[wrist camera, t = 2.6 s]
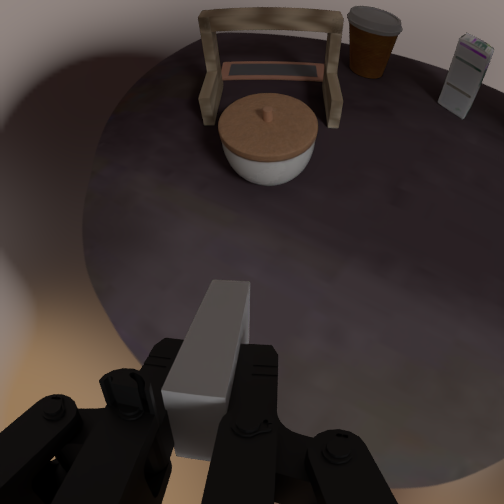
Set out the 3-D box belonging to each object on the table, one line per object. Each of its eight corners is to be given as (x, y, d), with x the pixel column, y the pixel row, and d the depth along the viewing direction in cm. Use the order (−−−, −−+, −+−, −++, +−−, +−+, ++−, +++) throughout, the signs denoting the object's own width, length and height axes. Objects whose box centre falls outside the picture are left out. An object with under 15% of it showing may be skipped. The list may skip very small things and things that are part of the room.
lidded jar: (321, 196, 37) (332, 139, 29) (229, 207, 37) (218, 150, 29) (301, 134, 42) (305, 78, 34) (223, 143, 42) (213, 87, 34)
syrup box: (463, 120, 44) (492, 56, 31) (435, 102, 46) (459, 36, 33) (470, 108, 45) (496, 48, 32) (444, 92, 47) (466, 30, 34)
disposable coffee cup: (335, 56, 52) (340, 2, 41) (380, 59, 52) (390, 8, 41) (349, 82, 48) (358, 22, 37) (398, 85, 47) (413, 30, 37)
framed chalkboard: (323, 65, 50) (323, 63, 50) (326, 82, 48) (327, 80, 47) (223, 63, 52) (223, 61, 51) (219, 80, 49) (218, 78, 49)
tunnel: (331, 89, 47) (340, 11, 34) (338, 128, 42) (353, 40, 29) (214, 86, 48) (202, 10, 35) (204, 125, 44) (186, 38, 31)
